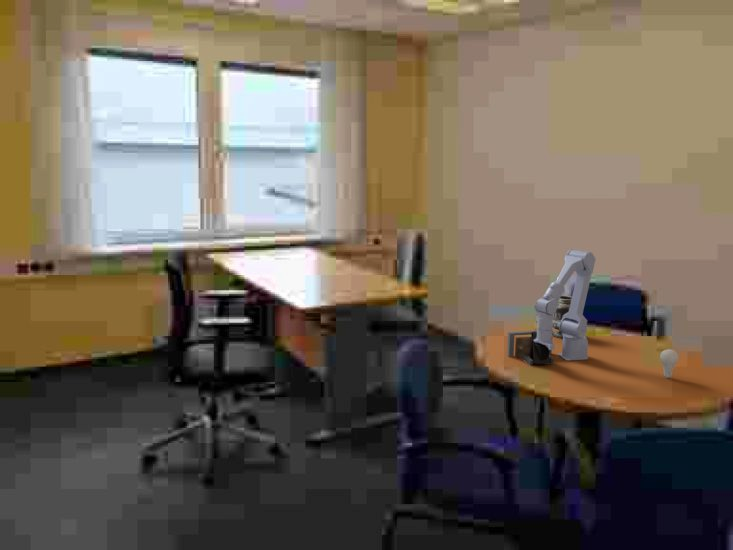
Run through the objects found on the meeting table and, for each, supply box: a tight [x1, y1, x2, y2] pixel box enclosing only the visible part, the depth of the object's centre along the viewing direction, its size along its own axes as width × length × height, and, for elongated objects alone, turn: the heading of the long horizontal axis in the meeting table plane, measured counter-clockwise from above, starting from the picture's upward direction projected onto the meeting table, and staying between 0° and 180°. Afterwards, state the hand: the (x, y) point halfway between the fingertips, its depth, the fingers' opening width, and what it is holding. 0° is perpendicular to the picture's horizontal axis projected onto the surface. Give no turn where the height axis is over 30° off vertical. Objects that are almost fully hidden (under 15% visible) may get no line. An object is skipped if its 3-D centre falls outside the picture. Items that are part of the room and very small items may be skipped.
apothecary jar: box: [552, 295, 576, 339], centre depth 283 cm, size 12×12×18 cm
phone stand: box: [529, 332, 551, 365], centre depth 249 cm, size 9×6×12 cm, turn 179°
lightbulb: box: [659, 348, 679, 379], centre depth 231 cm, size 6×6×11 cm
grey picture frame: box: [506, 329, 554, 357], centre depth 258 cm, size 19×2×10 cm, turn 99°
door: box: [514, 336, 531, 358], centre depth 255 cm, size 14×3×8 cm, turn 99°
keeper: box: [520, 353, 555, 366], centre depth 251 cm, size 10×9×2 cm
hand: (542, 362), depth 246 cm, fingers closed, pressing on phone stand
